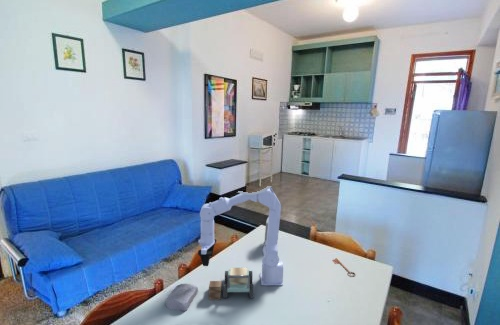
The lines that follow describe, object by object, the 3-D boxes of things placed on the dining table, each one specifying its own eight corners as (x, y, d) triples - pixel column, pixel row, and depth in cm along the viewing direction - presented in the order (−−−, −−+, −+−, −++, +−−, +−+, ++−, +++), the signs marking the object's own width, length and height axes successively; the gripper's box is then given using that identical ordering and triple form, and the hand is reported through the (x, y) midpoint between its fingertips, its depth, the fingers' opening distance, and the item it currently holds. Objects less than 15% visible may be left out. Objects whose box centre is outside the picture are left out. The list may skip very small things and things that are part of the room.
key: (329, 260, 134) (345, 278, 120) (329, 259, 134) (345, 276, 120) (339, 258, 135) (357, 276, 121) (339, 257, 135) (357, 274, 121)
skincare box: (265, 241, 151) (266, 216, 148) (277, 242, 150) (279, 217, 146) (263, 248, 143) (264, 222, 140) (276, 250, 141) (277, 223, 138)
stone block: (164, 312, 99) (188, 312, 97) (161, 301, 98) (185, 300, 96) (178, 292, 110) (200, 292, 108) (176, 282, 110) (198, 281, 108)
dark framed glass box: (251, 278, 117) (252, 258, 115) (253, 300, 104) (253, 277, 102) (225, 278, 117) (225, 257, 115) (223, 300, 103) (223, 277, 101)
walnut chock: (221, 288, 111) (221, 275, 109) (220, 300, 104) (220, 286, 103) (211, 288, 110) (210, 275, 109) (209, 300, 104) (208, 286, 102)
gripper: (202, 224, 118) (203, 251, 120) (193, 239, 103) (194, 269, 106) (217, 224, 117) (217, 252, 120) (210, 240, 103) (211, 271, 106)
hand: (207, 260), depth 113 cm, fingers open, 7 cm apart
